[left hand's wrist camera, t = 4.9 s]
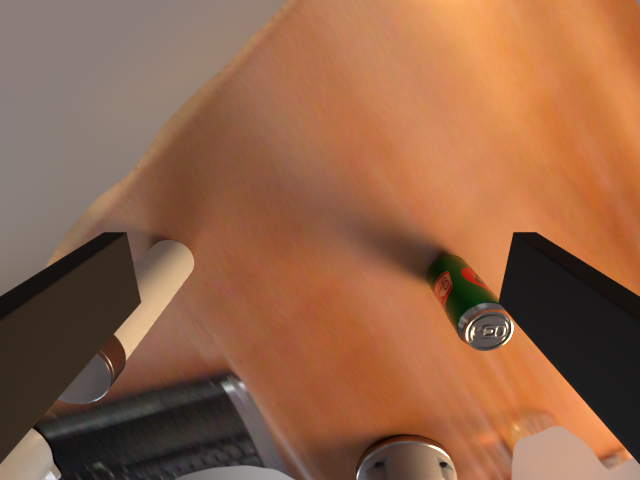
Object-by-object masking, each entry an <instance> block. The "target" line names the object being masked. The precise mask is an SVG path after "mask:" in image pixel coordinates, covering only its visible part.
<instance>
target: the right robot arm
mask: <svg viewBox="0 0 640 480" xmlns="http://www.w3.org/2000/svg"><path fill="white" fill-rule="evenodd" d="M60 477H61V473H60V471H59V470H58V468H57V467H56V465H55V464H54V462H53V457H52V452H51V449H50V447H49V445H48V443H47V442H46V440H45V439H44V438H43V437H42V436H41V435H40V434H39V433H38V432H37V431H35V430H34V429H33V428H32V429H31V430H30V431H29V432H28V433H27V434H26V435H25V437H24V438H23V439H22V440H21V441H20V442H19V443H18V445H17V446H16V447H15V448H14V449H13V450H12V451H11V453H10V454H9V455H8V456H7V457H6V458H5V460H4V461H3V462H2V463H1V464H0V480H58V479H59V478H60Z"/></svg>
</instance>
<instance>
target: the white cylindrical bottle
mask: <svg viewBox="0 0 640 480" xmlns="http://www.w3.org/2000/svg"><path fill="white" fill-rule="evenodd" d="M133 265H134V270H135V275H136V279H137V284H138V289H139V293H140V298H141V304H140V305H139V306H138V307H137V308H136V309H135V311H134V312H133V313H132V314H131V315H130V316H129V317H128V319H127V320H126V321H125V322H124V323H123V324H122V325H121V327H120V328H119V329H118V330H117V331H116V332H115V334H114V335H115V336H116V337H117V338H118V339H119V340H120V342H121V344H122V345H123V347H124V350H125V353H126V360H127V359H128V357H129V356H130V355H131V353H132V352H133V350H134V349H135V348H136V346H137V345H138V344H139V342H140V341H141V340H142V338H143V337H144V336H145V334H146V333H147V332H148V330H149V329H150V327H151V326H152V325H153V323H154V322H155V321H156V319H157V318H158V317H159V315H160V314H161V313H162V311H163V310H164V309H165V307H166V306H167V304H168V303H169V302H170V300H171V299H172V298H173V296H174V295H175V294H176V292H177V291H178V290H179V288H180V287H181V286H182V284H183V283H184V281H185V280H186V279H187V277H188V276H189V275H190V273H191V272H192V270H193V268H194V258H193V255H192V253H191V251H190V250H189V249H188V248H187V247H186V246H185V245H184V244H182V243H180V242H178V241H175V240H163V241H160V242H158V243H156V244H155V245H154V246H153V247H152V248H150V249H149V250H148V251H147V252H146V253H145V254H144V255H143V256H141V257H140V258H139V259H138V260H137V261H136V262H135V263H133Z"/></svg>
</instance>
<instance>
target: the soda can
mask: <svg viewBox="0 0 640 480" xmlns="http://www.w3.org/2000/svg"><path fill="white" fill-rule="evenodd" d="M426 278H427V282H428V284H429V286H430V288H431V289H432V291H433V293H434V295H435V296H436V298H437V300H438V301H439V303H440V305H441V307H442V308H443V310H444V312H445V313H446V315H447V317H448V319H449V320H450V322H451V324H452V325H453V327H454V329H455V331H456V332H457V334H458V336H459V337H460V339H461V340H462V341H463V342H465V343H466V344H468V345H470V346H471V347H473V348H474V349H477V350H481V351H489V350H494V349H497V348H499V347H501V346H502V345H504V344H505V343H506V342H507V341H508V340H509V338H510V337H511V335H512V332H513V324H512V320H511V316H510V315H509V314H508V313H507V312H506V311H505V309H504V308H503V307H502V306H501V305H500V304H499V299H498V298H497V297H496V296H495V294H494V293H493V292H492V291H491V290H490V289H489V288H488V287H487V285H486V284H485V283H484V282H483V281H482V280H481V279H480V278H479V276H478V275H477V274H476V273H475V272H474V271H473V270H472V269H471V267H470V266H469V265H468V264H467V263H466V262H465V261H464V260H463V259H462V258H460V257H458V256H455V255H446V256H442V257H440V258H438V259H436V260H435V261H433V263H432V264H431V265H430V266H429V268H428V270H427V274H426Z"/></svg>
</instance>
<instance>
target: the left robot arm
mask: <svg viewBox="0 0 640 480" xmlns="http://www.w3.org/2000/svg"><path fill="white" fill-rule="evenodd" d="M140 304H141V298H140V293H139V289H138V284H137V279H136V275H135V270H134V265H133V261H132V256H131V251H130V247H129V242H128V237H127V233H126V232H104V233H102V234H100V235H99V236H97V237H95V238H94V239H92V240H91V241H89V242H87V243H86V244H84V245H83V246H81V247H79V248H78V249H76V250H75V251H73V252H71V253H70V254H68V255H66V256H65V257H63V258H62V259H60V260H58V261H57V262H55V263H54V264H52V265H50V266H49V267H47V268H46V269H44V270H42V271H41V272H39V273H38V274H36V275H34V276H33V277H31V278H29V279H28V280H26V281H25V282H23V283H22V284H20V285H18V286H17V287H15V288H13V289H12V290H10V291H9V292H7V293H5V294H4V295H2V296H0V464H1V463H2V462H3V461H4V460H5V458H6V457H7V456H8V455H9V454H10V453H11V451H12V450H13V449H14V448H15V447H16V446H17V445H18V443H19V442H20V441H21V440H22V439H23V438H24V437H25V435H26V434H27V433H28V432H29V431H30V430H31V429H32V427H33V426H34V425H35V424H36V423H37V422H38V421H39V419H40V418H41V417H42V416H43V415H44V414H45V413H46V411H47V410H48V409H49V408H50V407H51V406H52V405H53V403H54V402H55V401H56V400H57V399H58V398H59V397H60V395H61V394H62V393H63V392H64V391H65V390H66V388H67V387H68V386H69V385H70V384H71V383H72V382H73V380H74V379H75V378H76V377H77V376H78V375H79V374H80V372H81V371H82V370H83V369H84V368H85V367H86V366H87V364H88V363H89V362H90V361H91V360H92V359H93V358H94V356H95V355H96V354H97V353H98V352H99V351H100V350H101V348H102V347H103V346H104V345H105V344H106V343H107V342H108V340H109V339H110V338H111V337H112V336H113V335H114V334H115V332H116V331H117V330H118V329H119V328H120V327H121V325H122V324H123V323H124V322H125V321H126V320H127V319H128V317H129V316H130V315H131V314H132V313H133V312H134V311H135V309H136V308H137V307H138V306H139V305H140ZM499 304H500V305H501V306H502V307H503V308H504V309H505V311H506V312H507V313H508V314H509V315H510V316H511V317H512V319H513V320H514V321H515V322H516V323H517V324H518V325H519V327H520V328H521V329H522V330H523V331H524V332H525V334H526V335H527V336H528V337H529V338H530V339H531V340H532V342H533V343H534V344H535V345H536V346H537V347H538V348H539V350H540V351H541V352H542V353H543V354H544V355H545V356H546V358H547V359H548V360H549V361H550V362H551V363H552V364H553V366H554V367H555V368H556V369H557V370H558V371H559V372H560V374H561V375H562V376H563V377H564V378H565V379H566V380H567V382H568V383H569V384H570V385H571V386H572V387H573V388H574V390H575V391H576V392H577V393H578V394H579V395H580V397H581V398H582V399H583V400H584V401H585V402H586V403H587V405H588V406H589V407H590V408H591V409H592V410H593V411H594V413H595V414H596V415H597V416H598V417H599V418H600V419H601V421H602V422H603V423H604V424H605V425H606V426H607V427H608V429H609V430H610V431H611V432H612V433H613V434H614V435H615V437H616V438H617V439H618V440H619V441H620V442H621V443H622V445H623V446H624V447H625V448H626V449H627V450H628V451H629V453H630V454H631V455H632V456H633V457H634V458H635V460H636V461H637V462H638V463H639V464H640V296H638V295H636V294H635V293H633V292H631V291H630V290H628V289H627V288H625V287H623V286H622V285H620V284H619V283H617V282H615V281H614V280H612V279H611V278H609V277H607V276H606V275H604V274H602V273H601V272H599V271H598V270H596V269H594V268H593V267H591V266H590V265H588V264H586V263H585V262H583V261H582V260H580V259H578V258H577V257H575V256H573V255H572V254H570V253H569V252H567V251H565V250H564V249H562V248H561V247H559V246H557V245H556V244H554V243H553V242H551V241H549V240H548V239H546V238H545V237H543V236H541V235H540V234H538V233H536V232H514V233H513V237H512V242H511V247H510V251H509V256H508V261H507V265H506V270H505V275H504V279H503V284H502V289H501V293H500V298H499ZM356 477H357V480H457V475H456V469H455V466H454V463H453V460H452V458H451V456H450V454H449V452H448V451H447V450H446V449H445V448H444V447H443V446H442V445H441V444H439V443H437V442H436V441H433V440H431V439H428V438H425V437H420V436H397V437H392V438H389V439H386V440H383V441H381V442H379V443H377V444H375V445H373V446H372V447H370V448H369V449H368V450H367V451H366V452H365V453H364V454H363V455H362V456H361V458H360V459H359V461H358V464H357V468H356Z"/></svg>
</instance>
